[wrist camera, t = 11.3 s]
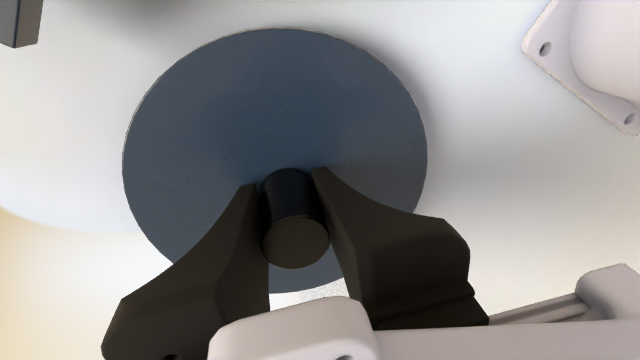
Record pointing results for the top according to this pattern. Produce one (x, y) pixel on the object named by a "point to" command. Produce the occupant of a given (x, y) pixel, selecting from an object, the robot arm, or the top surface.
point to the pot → (20, 22)
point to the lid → (271, 144)
